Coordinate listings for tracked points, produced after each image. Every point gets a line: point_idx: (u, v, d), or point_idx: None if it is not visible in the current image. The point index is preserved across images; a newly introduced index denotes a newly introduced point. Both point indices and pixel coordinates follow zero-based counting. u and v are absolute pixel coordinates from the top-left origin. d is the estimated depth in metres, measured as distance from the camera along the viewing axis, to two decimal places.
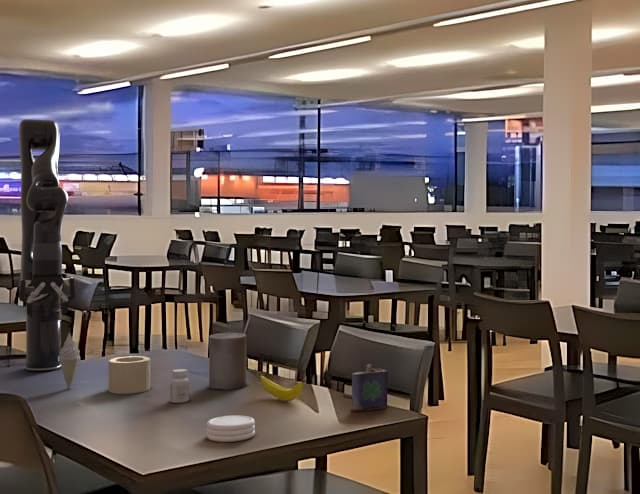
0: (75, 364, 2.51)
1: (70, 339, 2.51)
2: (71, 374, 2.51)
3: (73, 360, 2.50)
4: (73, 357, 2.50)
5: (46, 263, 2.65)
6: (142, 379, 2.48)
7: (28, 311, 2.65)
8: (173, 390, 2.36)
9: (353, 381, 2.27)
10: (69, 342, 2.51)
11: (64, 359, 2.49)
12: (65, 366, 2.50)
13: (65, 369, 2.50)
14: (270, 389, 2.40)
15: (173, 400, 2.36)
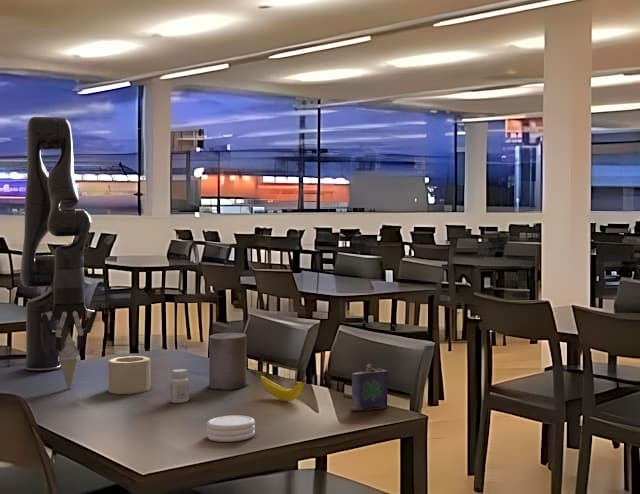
0: (75, 364, 2.51)
1: (70, 339, 2.51)
2: (71, 374, 2.51)
3: (73, 360, 2.50)
4: (73, 357, 2.50)
5: (68, 291, 2.48)
6: (142, 379, 2.48)
7: (57, 345, 2.50)
8: (173, 390, 2.36)
9: (353, 381, 2.27)
10: (69, 342, 2.51)
11: (64, 359, 2.49)
12: (65, 367, 2.50)
13: (65, 369, 2.50)
14: (270, 389, 2.40)
15: (173, 400, 2.36)
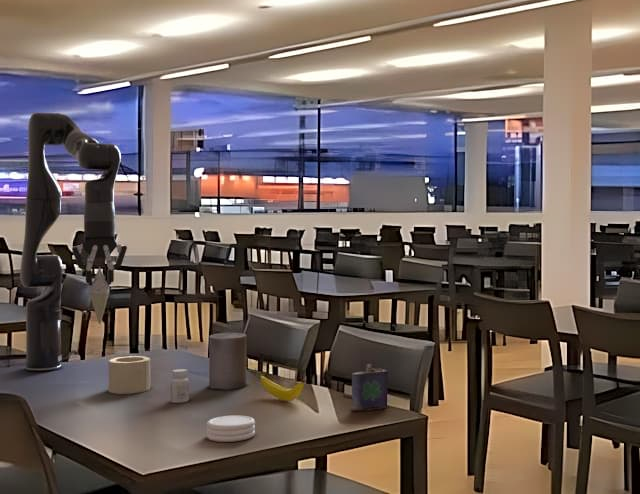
0: (105, 298, 2.50)
1: (100, 273, 2.50)
2: (102, 308, 2.50)
3: (103, 294, 2.49)
4: (103, 291, 2.50)
5: (99, 224, 2.47)
6: (142, 379, 2.48)
7: (88, 279, 2.49)
8: (173, 390, 2.36)
9: (353, 381, 2.27)
10: (99, 276, 2.50)
11: (94, 293, 2.48)
12: (95, 300, 2.49)
13: (96, 303, 2.49)
14: (270, 389, 2.40)
15: (173, 400, 2.36)
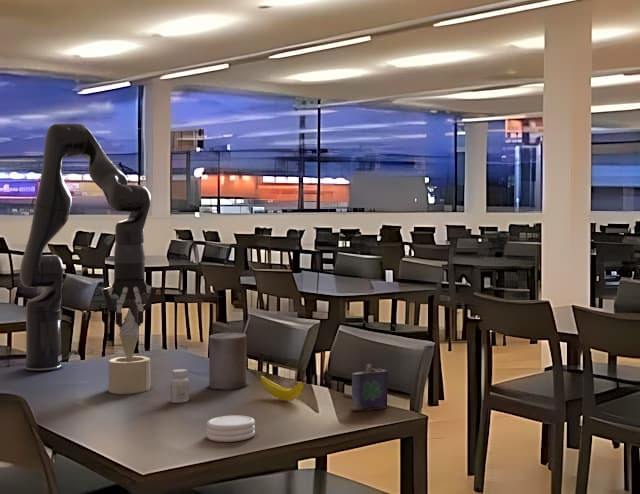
0: (135, 340, 2.50)
1: (130, 315, 2.51)
2: (131, 350, 2.50)
3: (133, 336, 2.50)
4: (133, 333, 2.50)
5: (129, 266, 2.47)
6: (142, 379, 2.48)
7: (118, 321, 2.49)
8: (173, 390, 2.36)
9: (353, 381, 2.27)
10: (129, 318, 2.50)
11: (125, 335, 2.49)
12: (125, 342, 2.49)
13: (126, 345, 2.49)
14: (270, 389, 2.40)
15: (173, 400, 2.36)
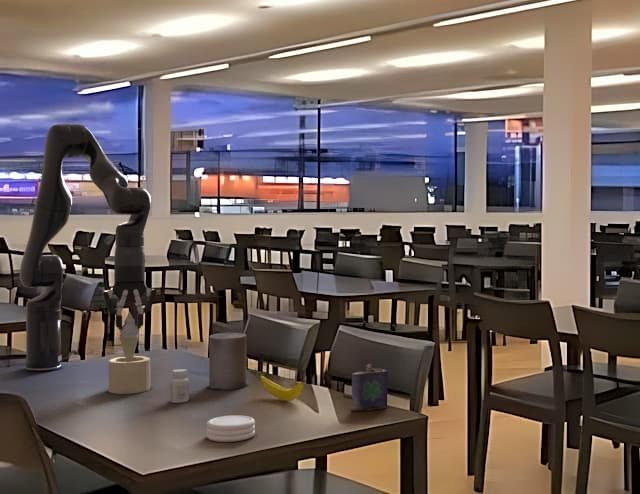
0: (135, 342, 2.50)
1: (130, 317, 2.51)
2: (131, 352, 2.50)
3: (133, 338, 2.50)
4: (133, 335, 2.50)
5: (129, 269, 2.47)
6: (142, 379, 2.48)
7: (118, 323, 2.49)
8: (173, 390, 2.36)
9: (353, 381, 2.27)
10: (129, 320, 2.50)
11: (125, 337, 2.49)
12: (125, 345, 2.49)
13: (126, 347, 2.49)
14: (270, 389, 2.40)
15: (173, 400, 2.36)
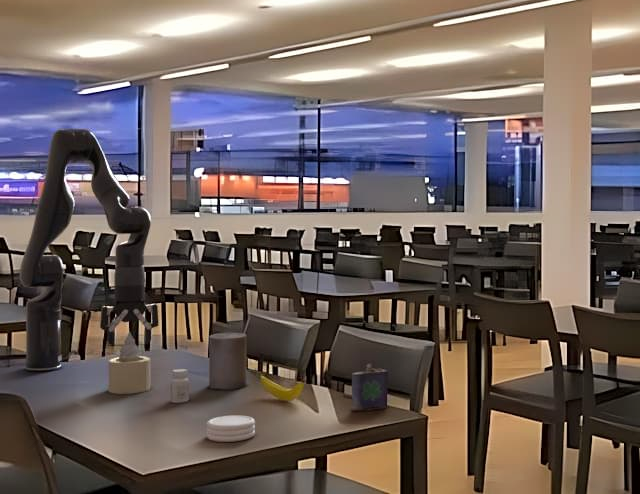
0: None
1: (130, 337, 2.51)
2: None
3: (134, 358, 2.50)
4: (133, 355, 2.50)
5: (129, 289, 2.47)
6: (142, 379, 2.48)
7: (110, 340, 2.48)
8: (173, 390, 2.36)
9: (353, 381, 2.27)
10: (129, 340, 2.50)
11: (125, 357, 2.49)
12: None
13: None
14: (270, 389, 2.40)
15: (173, 400, 2.36)
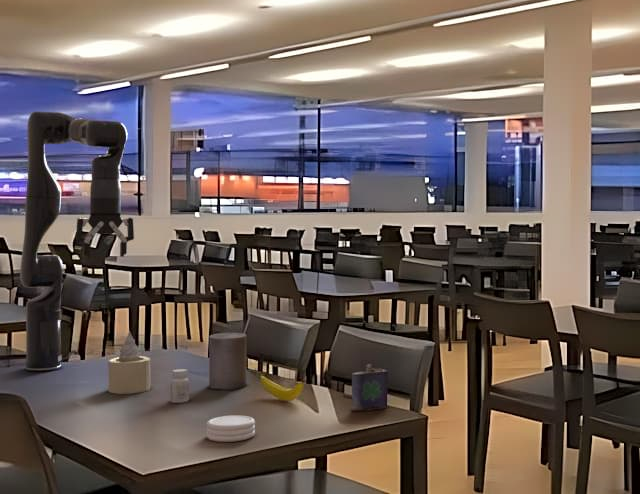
0: None
1: (130, 337, 2.51)
2: None
3: (133, 358, 2.50)
4: (133, 355, 2.50)
5: (105, 201, 2.50)
6: (142, 379, 2.48)
7: (85, 251, 2.51)
8: (173, 390, 2.36)
9: (353, 381, 2.27)
10: (129, 340, 2.50)
11: (125, 357, 2.49)
12: None
13: None
14: (270, 389, 2.40)
15: (173, 400, 2.36)
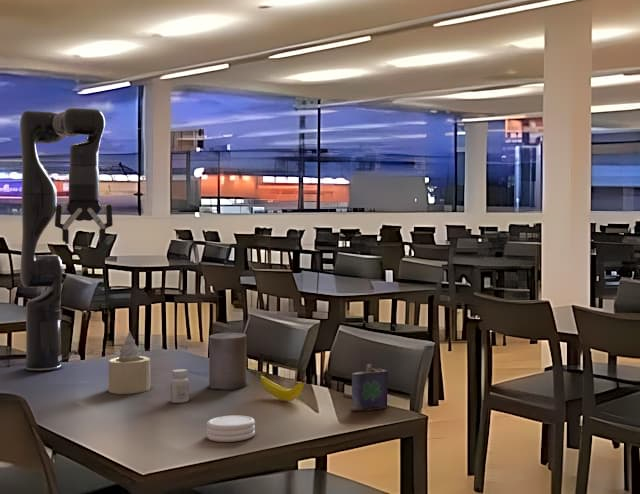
0: None
1: (130, 337, 2.51)
2: None
3: (133, 358, 2.50)
4: (133, 355, 2.50)
5: (83, 187, 2.53)
6: (142, 379, 2.48)
7: (64, 238, 2.54)
8: (173, 390, 2.36)
9: (353, 381, 2.27)
10: (129, 340, 2.50)
11: (125, 357, 2.49)
12: None
13: None
14: (270, 389, 2.40)
15: (173, 400, 2.36)
